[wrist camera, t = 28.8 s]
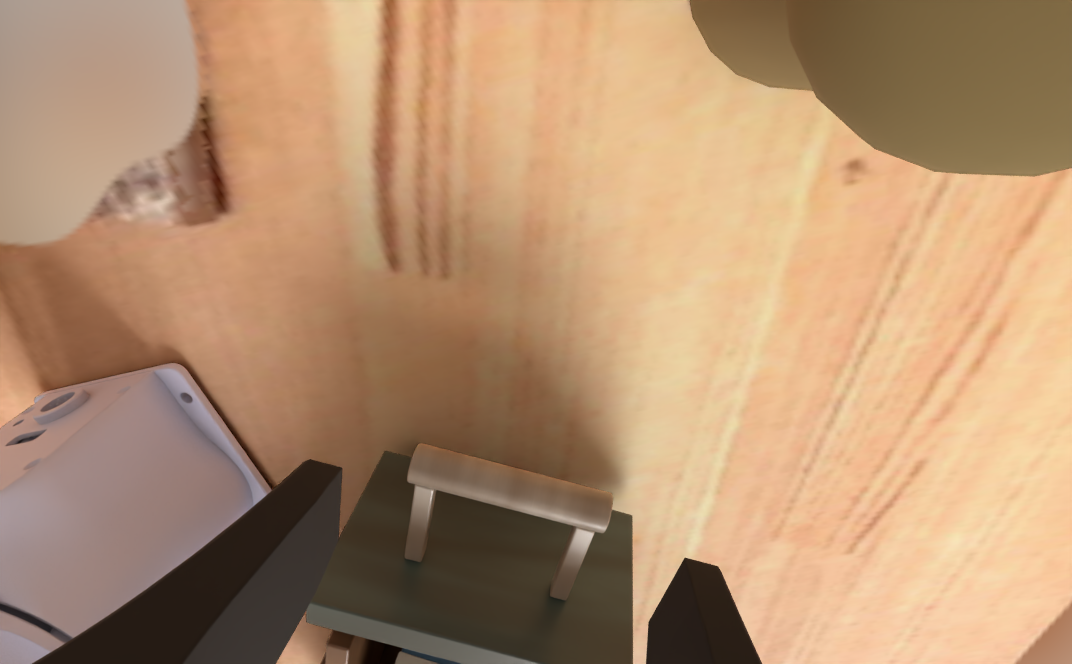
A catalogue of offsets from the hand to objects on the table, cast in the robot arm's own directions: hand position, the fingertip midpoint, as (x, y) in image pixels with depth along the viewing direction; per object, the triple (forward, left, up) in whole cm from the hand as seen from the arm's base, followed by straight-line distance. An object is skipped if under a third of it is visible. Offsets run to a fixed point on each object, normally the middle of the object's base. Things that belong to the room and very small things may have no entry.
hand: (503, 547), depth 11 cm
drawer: (+11, -6, -10) cm, 15 cm away
